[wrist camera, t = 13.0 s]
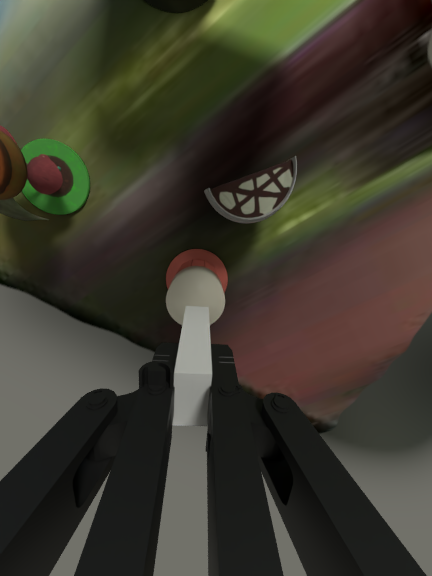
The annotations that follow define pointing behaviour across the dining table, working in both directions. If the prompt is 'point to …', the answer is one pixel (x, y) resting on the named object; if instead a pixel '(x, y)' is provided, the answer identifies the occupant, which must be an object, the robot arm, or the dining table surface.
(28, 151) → the translucent plastic tub
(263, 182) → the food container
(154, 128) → the dining table surface
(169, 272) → the red flanged cylinder
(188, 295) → the grey rounded piece
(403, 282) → the dining table surface
